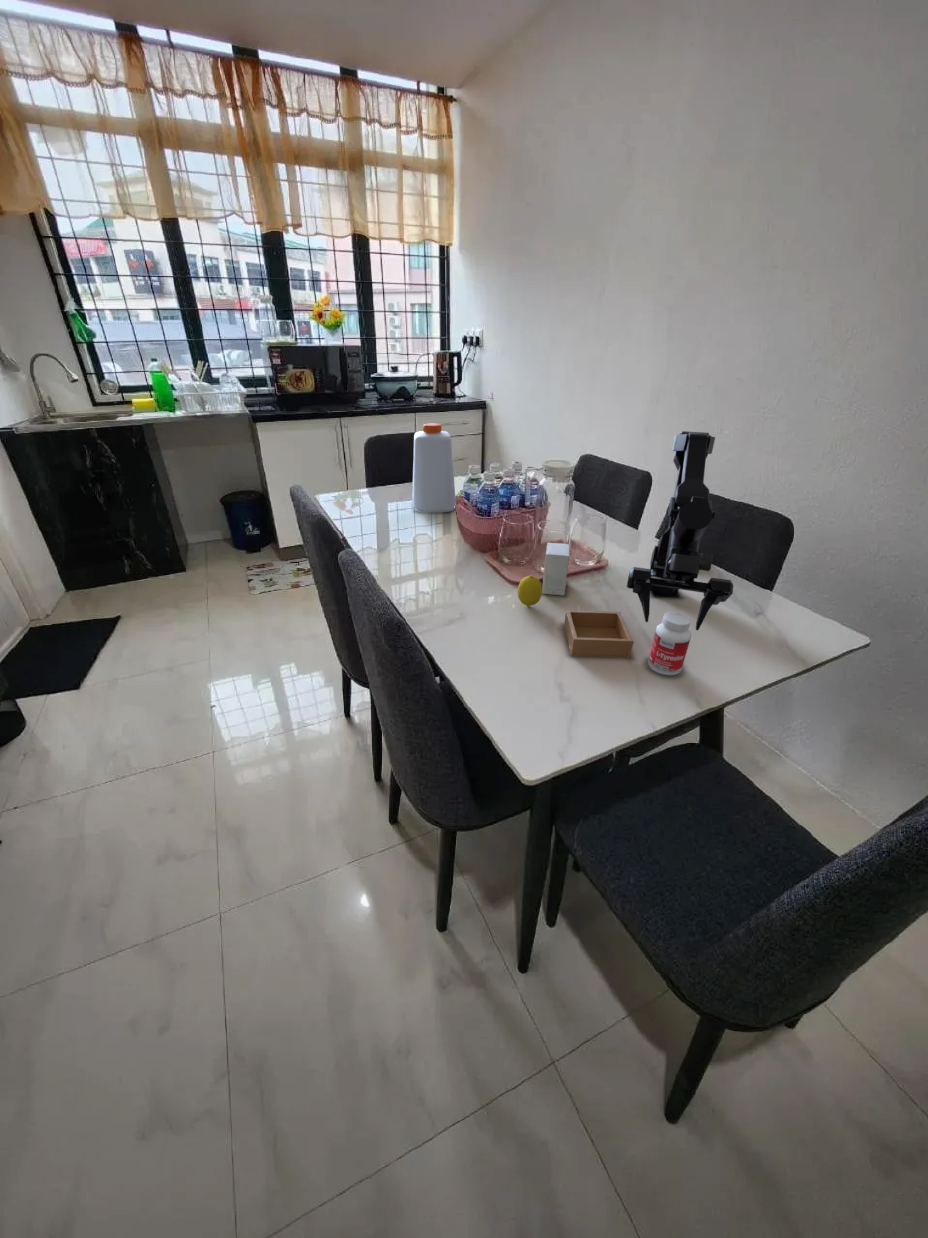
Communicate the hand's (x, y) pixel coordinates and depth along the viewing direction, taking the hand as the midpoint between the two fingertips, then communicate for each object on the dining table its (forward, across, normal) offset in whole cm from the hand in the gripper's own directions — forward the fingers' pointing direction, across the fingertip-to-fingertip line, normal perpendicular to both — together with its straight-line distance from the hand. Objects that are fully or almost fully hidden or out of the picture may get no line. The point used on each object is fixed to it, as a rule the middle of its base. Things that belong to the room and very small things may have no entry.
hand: (671, 625), depth 97 cm
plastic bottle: (-46, -78, +56) cm, 106 cm away
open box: (+4, -14, +6) cm, 15 cm away
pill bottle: (+8, 0, +2) cm, 8 cm away
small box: (-10, -26, +21) cm, 35 cm away
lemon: (-2, -30, +13) cm, 33 cm away
